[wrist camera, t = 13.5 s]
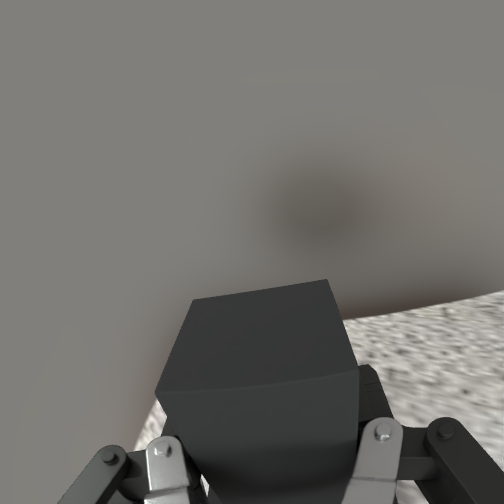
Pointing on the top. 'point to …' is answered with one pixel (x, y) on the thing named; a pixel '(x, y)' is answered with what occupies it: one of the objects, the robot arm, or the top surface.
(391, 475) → the robot arm
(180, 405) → the pad block
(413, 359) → the top surface
